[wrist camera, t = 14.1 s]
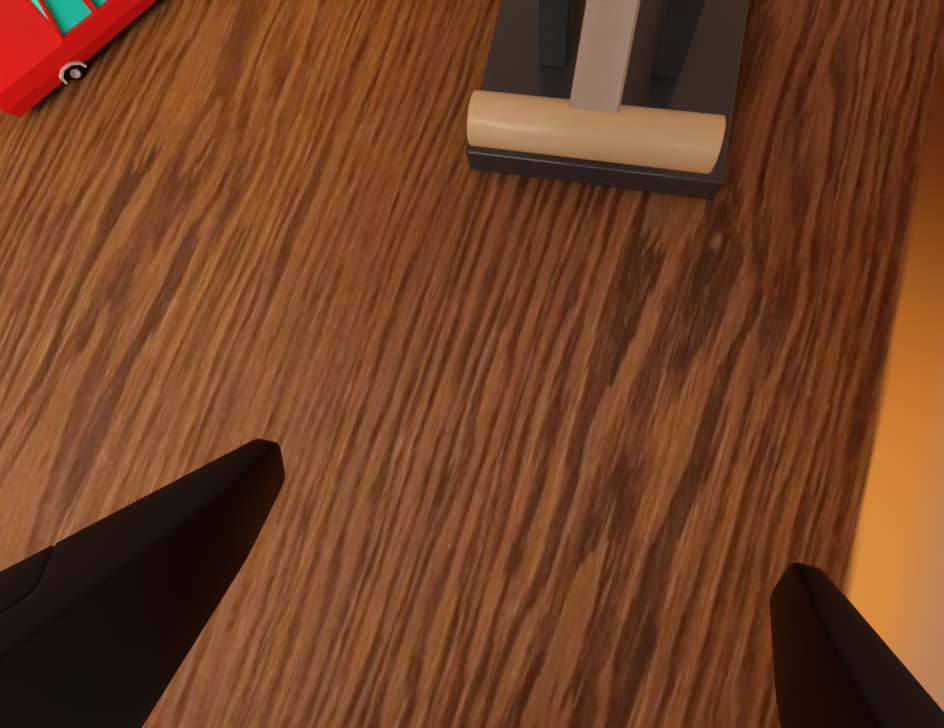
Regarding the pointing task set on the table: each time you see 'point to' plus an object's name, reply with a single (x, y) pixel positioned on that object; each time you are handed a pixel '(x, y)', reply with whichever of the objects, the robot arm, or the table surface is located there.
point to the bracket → (647, 81)
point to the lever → (598, 109)
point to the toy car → (53, 43)
